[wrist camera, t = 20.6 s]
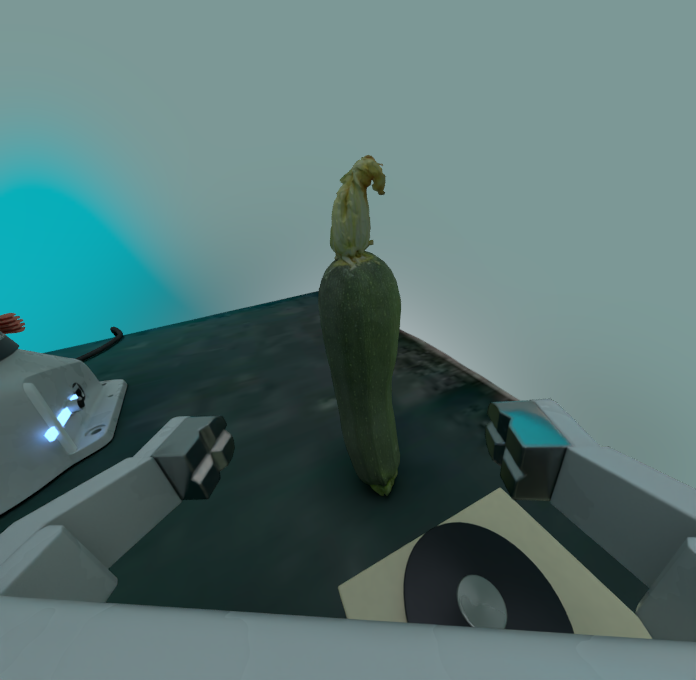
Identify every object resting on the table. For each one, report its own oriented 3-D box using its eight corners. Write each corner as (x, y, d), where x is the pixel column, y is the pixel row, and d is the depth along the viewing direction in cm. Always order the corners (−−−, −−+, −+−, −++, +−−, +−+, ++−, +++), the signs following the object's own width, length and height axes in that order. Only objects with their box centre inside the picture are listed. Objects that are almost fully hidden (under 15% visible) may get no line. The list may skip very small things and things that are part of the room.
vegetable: (338, 482, 19) (269, 171, 11) (371, 444, 22) (336, 174, 14) (389, 518, 17) (349, 139, 8) (419, 469, 19) (412, 151, 11)
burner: (378, 566, 12) (377, 560, 12) (476, 506, 14) (476, 499, 14) (487, 815, 7) (489, 812, 7) (620, 666, 9) (626, 661, 8)
